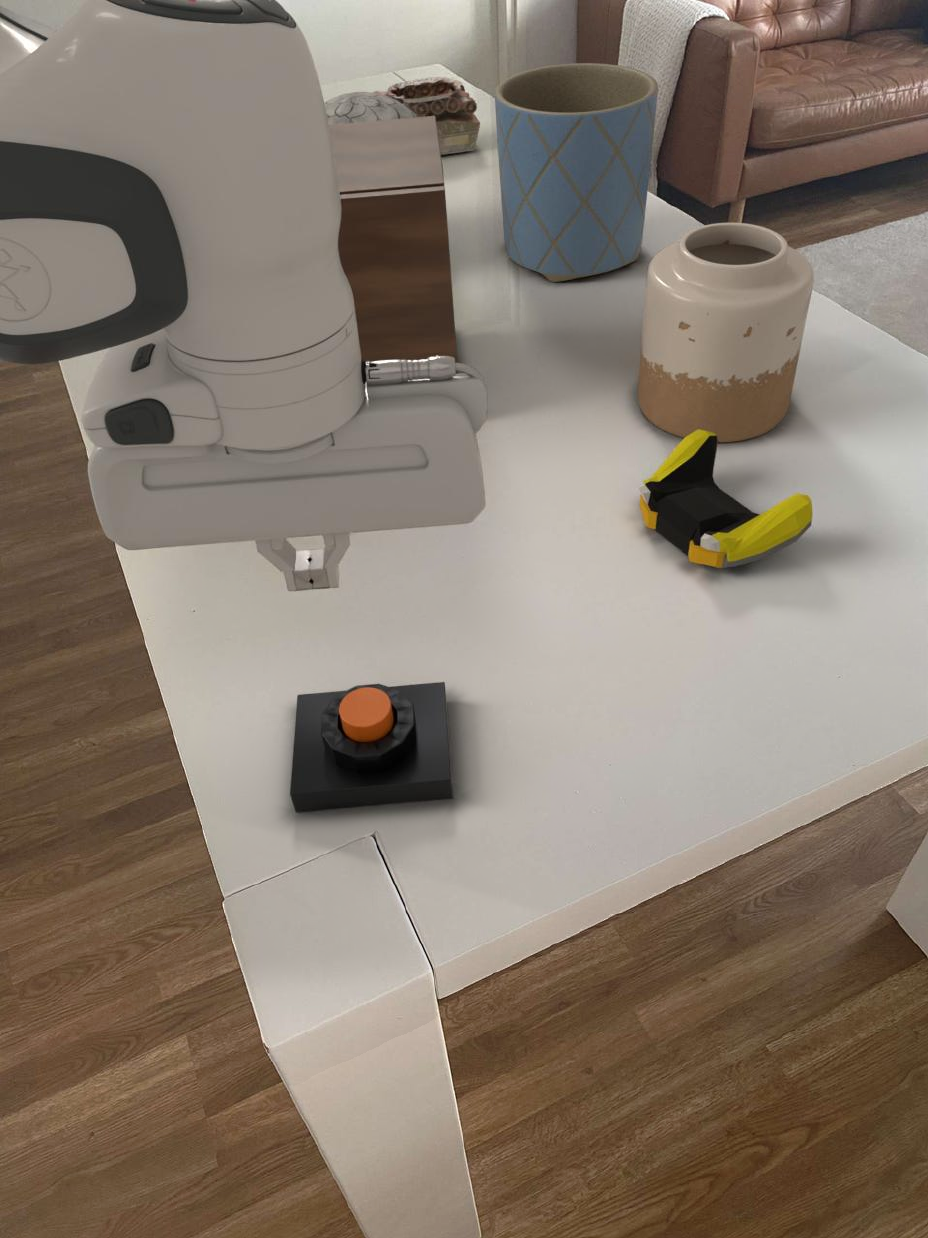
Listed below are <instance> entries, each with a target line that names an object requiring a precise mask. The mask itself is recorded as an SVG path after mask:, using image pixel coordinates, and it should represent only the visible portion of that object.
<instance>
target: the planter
mask: <svg viewBox="0 0 928 1238" xmlns="http://www.w3.org/2000/svg"><path fill="white" fill-rule="evenodd" d="M658 95H659V84H658V82H657V80H656V79H655V78H654V77H653V76H651V75H650V74H649V73H646V72H644V71H642V70H639V69H637V68H634V67H633V68H632V67H628V66H624V65H617V64H609V63H598V62H597V63H596V62H595V63H592V62H579V63H578V62H577V63H562V64H554V65H553V64H552V65H547V66H541V67H536V68H532V69H529V70H525V71H521V72H520V73H519V72H518V73H515V74H513V75H511V76H509V77H508V78H505V79H504V80H503V81H501V82H500V83H499V84H498V85H497V86H496V87H495V90H494V105H495V123H496V140H497V141H496V142H497V143H496V144H497V157H498V158H497V159H498V171H499V184H500V185H499V186H500V197H501V199H500V200H501V215H502V225H503V226H502V227H503V229H502V230H503V242H504V249H505V252H506V254H507V256H508V257H509V258H510V260H512V261H513V262H515V264H518V265H519V266H521V267H523V268H525V269H528V270H530V271H533V272H537V273H539V274H541V275H542V276H543V277H545V278H546V279H547V280H548V281H549V282H551V283H559V282H564V281H565V282H566V281H569V280H575V279H580V278H584V277H590V276H594V275H595V276H596V275H600V274H603V273H608V272H612V271H614V270H617V269H620V268H622V267H624V266H627V265H629V264H631V263H634V262H636V261H637V260H638V258H639V256H640V253H641V249H642V243H643V237H644V227H645V218H646V209H647V199H648V191H649V181H650V172H651V164H652V155H653V146H654V145H653V144H654V134H655V125H656V114H657V106H658V105H657V103H658Z"/></svg>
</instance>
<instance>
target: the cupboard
mask: <svg viewBox="0 0 928 1238" xmlns="http://www.w3.org/2000/svg"><path fill="white" fill-rule="evenodd" d="M329 129H330V134H331V140H332V145H333V151H334V158H335V164H336V171H337V178H338V185H339V192H340V195H344V194H356V193H367V192H379V191H391V190H403V189H415V188H426V187H438V186H445V177H444V178H443V175H444V169H443V170H442V166H443V162H442V163H441V161H442V155H440V147H439V140H438V132H437V124H436V117H435V116H426V117H415V118H403V119H391V120H380V121H368V122H357V123H345V124H333V125H329Z"/></svg>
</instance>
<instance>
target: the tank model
mask: <svg viewBox="0 0 928 1238" xmlns="http://www.w3.org/2000/svg"><path fill="white" fill-rule="evenodd" d="M372 93H377V94H381V95H384V96H388V97H390V98H392V99H394V100H397V101H398V102H400V103H402V104H403V105H405V106H406V107H408V108H409V109H410V110H411V111H413V112H414V113H415V114H416V115H417V116H418V117H426V116H435V117H436V124H437V132H438V140H439V147H440V155H441V156H443V155H448V154H449V155H451V154H457V153H465V152H471V151H475V150H476V147H477V141H478V137H479V132H480V128H481V121H480V120H479V119H478V117H477V115H476V114H475V112H477V109H478V104H477V102H476V100H475V99H474V98H472V97H470V93H469V92H467V91H466V89H465V86H464V85H463V83H462V82H461V81H460V80H458V79H454V78H451V77H450V78H449V77H447V76H433V77H427V78H420V79H417V78H416V79H412V80H406V81H401V82H398V83H394V84H392V85H390V86H388V88H387V90H385V91H382V90H376V91H373V92H372Z"/></svg>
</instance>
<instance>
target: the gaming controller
mask: <svg viewBox="0 0 928 1238" xmlns="http://www.w3.org/2000/svg"><path fill="white" fill-rule="evenodd" d="M718 444H719V442H718V439H717V435H716V434H715V433H712V432H708V431H704V430H700V429H698V430H696V431H695V432H693V433H691V434H690V435H688V436H686V437H685V438H683V439H682V440H681V441H680V442H679V443H678V444H677V445H676V446H675V448H674V449H673V451H671V453H670V454H669V456H668V457H666V459H665V460H664V461H663V462H662V463H661V465H660V466H659V467H658V468H657V469H656V471H655V472H654V473H653V474H652V475H651V477H650V478H647V479H644V480H642V483H641V484H639V486H638V490H639V492H640V497H639V509H640V512H641V514H642V515H641V516H642V519H643V521H644V524H645V525H646V527H647V528H648V529H652V530H655V531H656V532H657V533H658V534H659V535H660V536H662V537H663V538H664V539H665V540H667V541H668V542H669V543H670V544H672V545H673V546H674V547H676V548H677V549H678V550H679V551H680V552H682V553H683V554H684V555H685V556H687V557H688V560H689V562H690V563H694V564H697V565H703V566H704V565H705V566H708V567H712V568H715V569H726V568H734V567H738V566H742V565H745V564H746V565H747V564H749V563H753V562H756V561H761V560H762V559H765V558H767V557H768V556H770V555H773V554H774V553H776V552H778V551H781V550H782V549H785V548H786V547H789V546H791V545H792V544H794V543H796V542H797V541H798V540H799V539H800V538H801V537H802V536H803V535H804V534H805V533H806V532H807V531H808V530H809V529H810V528H811V527H812V523H813V503H812V499H811V497H810V496H809V495H808V494H804V493H794V494H792V495H791V496H788V497H787V498H785V499H783V500H781V501H779V502H778V503H777V504H774V505H773V506H772V507H771V508H769V509H767V510H766V511H764V512H762V513H757V512H753V511H751V509H749V508H748V507H746V506H745V505H744V504H742V503H741V502H739V501H738V500H736V499H735V498H734V497H732V496H731V495H730V494H728V493H726V492H725V491H724V490H722V489H721V488H720V487H719V486H718V485H717V483H716V482H715V479H714V468H715V462H716V457H717V450H718Z"/></svg>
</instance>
